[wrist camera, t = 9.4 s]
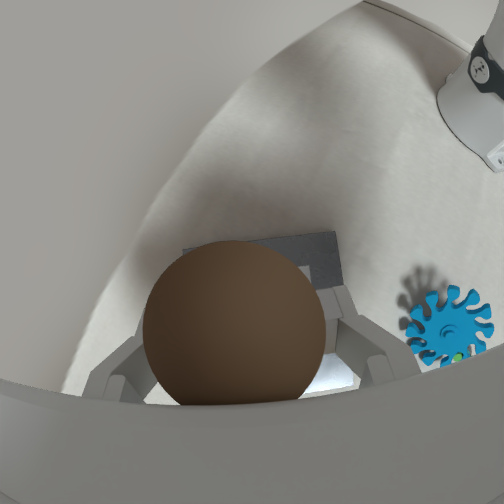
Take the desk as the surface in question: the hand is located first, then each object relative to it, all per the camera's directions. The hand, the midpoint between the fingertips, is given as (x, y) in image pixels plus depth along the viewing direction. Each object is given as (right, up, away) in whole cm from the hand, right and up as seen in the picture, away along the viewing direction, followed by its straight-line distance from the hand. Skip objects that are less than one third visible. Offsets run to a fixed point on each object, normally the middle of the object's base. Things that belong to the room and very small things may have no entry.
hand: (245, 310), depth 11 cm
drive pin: (+1, -2, +6) cm, 6 cm away
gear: (+21, -7, +17) cm, 28 cm away
